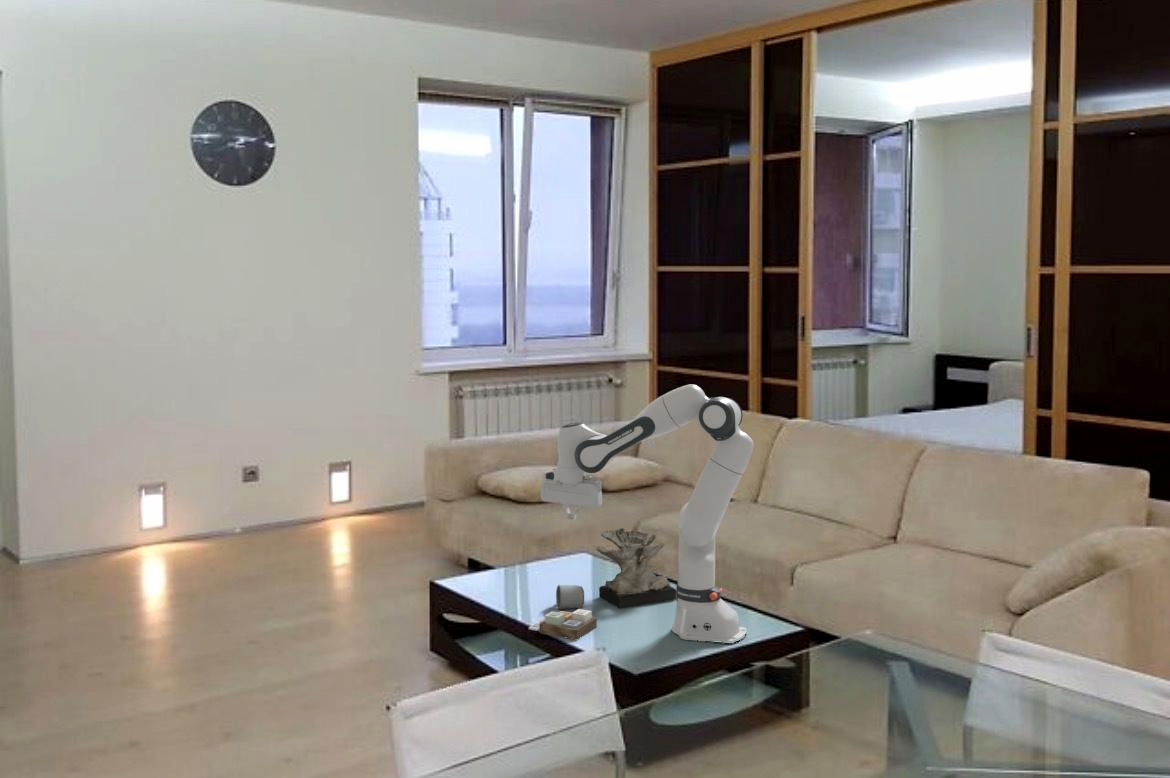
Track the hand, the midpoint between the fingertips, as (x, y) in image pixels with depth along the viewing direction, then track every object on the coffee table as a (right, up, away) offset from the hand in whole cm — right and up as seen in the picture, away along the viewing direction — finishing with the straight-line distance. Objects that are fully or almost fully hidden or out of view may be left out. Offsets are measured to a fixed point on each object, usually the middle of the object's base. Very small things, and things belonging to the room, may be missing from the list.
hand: (571, 518), depth 360 cm
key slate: (+1, -33, -14) cm, 36 cm away
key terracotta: (-2, -32, -6) cm, 33 cm away
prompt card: (-9, -32, -6) cm, 34 cm away
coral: (+19, -29, +23) cm, 42 cm away
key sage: (-5, -31, -12) cm, 33 cm away
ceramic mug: (-1, -30, +12) cm, 33 cm away
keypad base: (-1, -33, -10) cm, 34 cm away
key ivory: (+3, -31, -9) cm, 32 cm away
